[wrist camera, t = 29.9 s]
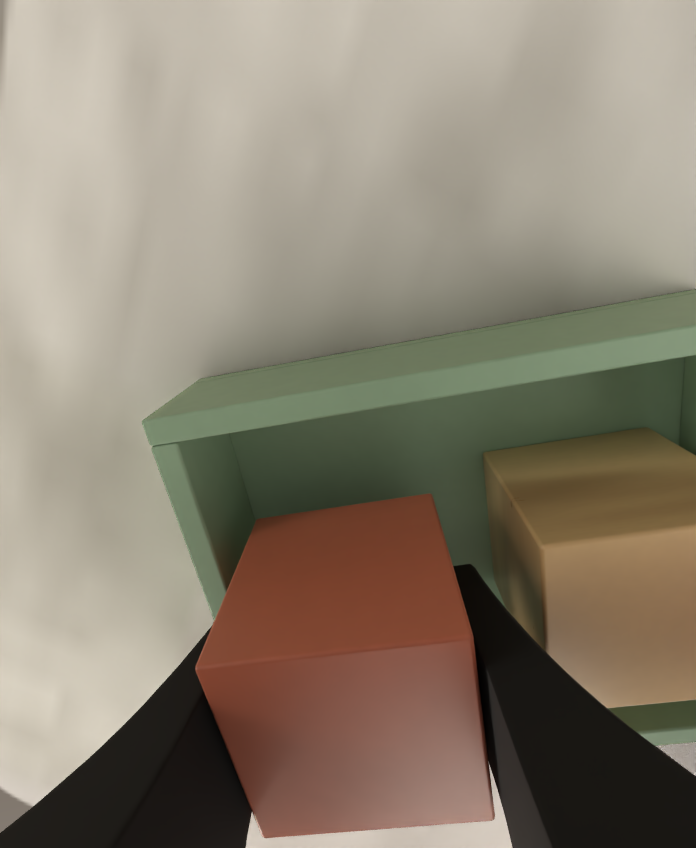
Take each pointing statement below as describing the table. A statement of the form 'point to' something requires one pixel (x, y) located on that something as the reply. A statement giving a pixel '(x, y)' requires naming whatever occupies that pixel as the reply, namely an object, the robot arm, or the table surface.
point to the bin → (423, 432)
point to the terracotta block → (349, 674)
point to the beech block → (601, 559)
